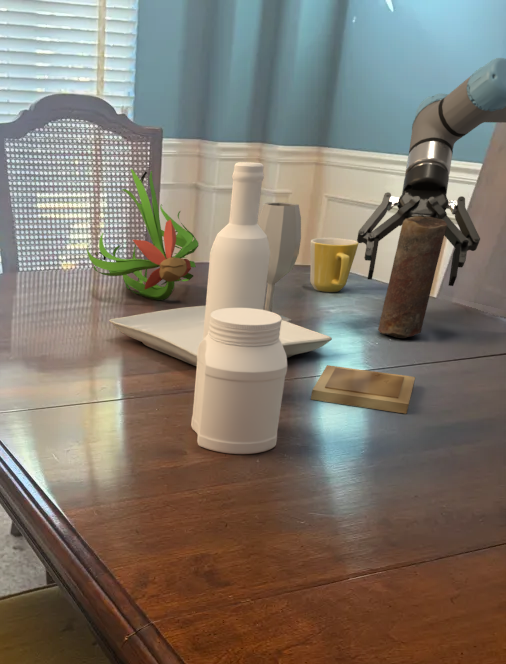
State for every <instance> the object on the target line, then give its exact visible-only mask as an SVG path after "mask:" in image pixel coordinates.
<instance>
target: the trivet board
mask: <svg viewBox="0 0 506 664" xmlns="http://www.w3.org/2000/svg"><path fill="white" fill-rule="evenodd" d="M415 381H416V377H415V376H411V375H404V374H403V375H402V374H396V373H390V372H389V373H388V372H381V371H372V370H367V369H358V368H351V367H343V366H337V365H329V364H327V365H326V366H325V367H324V369H323V371H322V373H321V374H320V375H319V377H318V379H317V381H316V382H315V385H314V386H313V387H312V390H311V395H310V400H312V401H317V402H318V401H319V402H324V403H329V404H331V403H332V404H336V405H337V404H338V405H343V406H352V407H359V408H365V409H371V410H379V411H385V412H391V413H398V414H403V415H404V414H405V415H406V414H407V413H408V409H409V406H410V401H411V397H412V393H413V389H414V384H415Z"/></svg>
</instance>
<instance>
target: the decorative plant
mask: <svg viewBox="0 0 506 664" xmlns="http://www.w3.org/2000/svg"><path fill="white" fill-rule="evenodd" d="M130 172H131V174H132V179H133V181H134V184H135V187H136V190H137V193H138V197H139V200H140V202H138V200H137V198H136V196H135V194H133V193H132V192H131V191H129V190H128V189H126V188H122V189H121V192H122V191H123V192H125V193H126V194H127V196H129V197H130V198H131V199H132V201H133V202H134V203H135V205H136V207H137V209H138V210H139V212H140V215H141V217H142V219H143V222H144V225H145V227H146V230H147V232H148V235H149V237H150V240H151V242H150V241H147V240H144V239H143V240H142V239H131V240H132V242H133V243H134V244H135V245H134V248H133V252H132V258H120V257H118V256H116V254H117V252H118V250H119V248H120V247H121V244H120V245H117V246H116V247H115V248H114V249H113V251H112V254H111V253H110V252H108V250H107V249H106V247H105V245H104V241H103V237H104V236H105V234H104V233H103V232H102V233H101V235H100V237H99V242H98V248H99V251H97V252H96V251H95V253H94V255H95V256H96V257H97V258H96V257H95V256H94V255H92V254H91V252H90V251H89V249H88V247H89V245H87V246H86V247H87V248H86V253H87V256H88V259H89V260H90V262H91V263H92V265H93V270H94V271H95V272H97V273H99V274H101V275H104V276H108V277H121V276H122V280H123V282H124V285H125V287H126V288H127V289H128V290H129V291H131V292H132V293H133V294H136V295H139V296H141V297H144V298H148V299H151V300H155V301H164V300H166V299H168V298H169V297H171V295H172V293H173V291H174V289H175V285H176V284H175V282H176V283H177V282H188V281H190V280H191V279H193V278H194V275H193V274H191V273H190V271H191V270H192V268H197V267H196V263H195V261H194V260H189V259H187V256H188V255H190V254H193V253H195V252H196V250H197V249H198V247H199V241H198V240H197V238H196V237H195V235H194V234H193V233H192V232H191V231H190V230H189V229H188V228H187V227H186V226H185V224H183V223H182V222H180V224H181V225H182V226H181V225H180V224H179V223H178V222H176V221H175V220H174V219H173V218H172V217H170V215H169V214H168V213H167V212H166V211H165V210H164V209H163V204H162V203H160V206H159V203H158V199H157V193H156V190H155V186H154V181H153V170H151V171H150V173H149V175H148V176H149V177H148V181H149V187H150V194H151V202H150V198H149V195H148V193H147V191H146V188H145V186H144V184H143V181H144V179H145V177H146V176H147V174H148V171H144V173H143V174H142V175H141V177H140V178H139V176H138V174H137V173H136V172H135V171H134V170H133V168H130ZM159 209H160V211H161V214H162V215H163V217H164V219H165V220H166V221H165V226H164V230H163V229H162V226H161V225H162V224H161V219H160V211H159ZM180 213H181V210H179V211H178V212H177V219H178V220H180ZM136 247H137V248H138V249H139V251H140V252H141V253H142V255H144V257H145V258H147V259H145V258H143V259H142V258H136ZM175 248H177V249H179V251H178V252H177V253H176V252H175ZM98 254H100V255H102V256H103V258H102V259H101V258H98V257H99V255H98ZM173 254H175V255H173ZM106 259H109V260H112V261H107V260H106ZM96 267H97V268H99V269H102V270H106V271H108V272H102V271H101V272H100V271H98V270H97V268H96ZM151 269H154V270H153V271H152V272H151V273H150V274H149V276H148V270H151ZM142 271H145V272H144V275H143V272H142ZM130 274H133V275H134V276H135V277H137V280H136V279H134V278H132V277H131V276H129V275H130ZM147 277H148V278H147ZM182 278H183V279H182ZM162 281H164V282H163V283H160V282H162ZM144 283H145V284H144ZM159 283H160V285H161V286H160V285H158V284H159ZM163 285H164V286H163ZM131 288H133V289H135V290H136V291H134V290H133V289H131ZM137 291H138V292H137Z"/></svg>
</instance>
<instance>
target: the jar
mask: <svg viewBox="0 0 506 664" xmlns="http://www.w3.org/2000/svg"><path fill="white" fill-rule="evenodd" d="M279 315H280V314H277V313H276V312H273V311H272V312H270V311H265V310H264V309H263V310H260V309H252V308H224V309H219V310H215V311H213V312H212V313H211V314H210V322H209V323H210V326H209V332H208V335H207V336H206V337H205V338H204V339H203V340H202V342H201V343H200V344H199V347H198V350H197V366H196V371H195V383H194V395H193V406H192V416H191V424H190V427H191V429H192V431H194V432H195V433H196V435H197V438H196V439H197V440H196V442H197V446H199V447H201V448H203V449H206V450H210V451H212V452H213V451H214V452H217V453H222V454H230V455H253V454H259V453H263V452H267V451H269V450H272V449H274V448H275V447H276V445H277V442H278V441H277V440H278V429H279V423H280V422H279V421H280V414H281V409H282V407H281V406H282V400H283V394H284V387H285V380H286V376H287V373H288V372H287V371H288V358H287V357H286V353H285V350H284V348H283V345H282V343H281V341H280V337H279V336H280V330H281V329H280V326H281V321H282V318H281V317H280V316H279Z"/></svg>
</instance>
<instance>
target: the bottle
mask: <svg viewBox="0 0 506 664" xmlns="http://www.w3.org/2000/svg"><path fill="white" fill-rule="evenodd" d="M264 168H265V165H264V164H263V163H262V162H253V161H251V162H250V161H238V162H236V163H235V164H234V166H233V172H232V174H231V179H232V187H231V198H230V208H229V219H228V223H227V224H226V225H224V227H223V228H222V229H221V230H220V231H219V232H217V233H216V236H215V238H214V241H213V243H212V245H211V249H210V250H209V251H210V252H209V262H208V263H209V264H208V273H207V274H208V276H207V287H206V299H205V306H206V309H205V321H204V333H203V339H204V338H205V337H206V336H207V335H208V332H209V326H210V323H209V322H210V314H211V313H212V312H213V311H215V310H219V309H224V308H252V309H260V310H264V308H265V300H266V292H267V284H268V283H267V274H268V266H269V258H270V249H269V243H268V239H267V235H266V234H265V233H264V232H263V230H262V229H261V228H260V226H259V225H258V224H257V222H258V217H259V214H260V212H259V211H260V204H261V203H260V202H261V195H262V186H263V181H264V179H265V173H264Z"/></svg>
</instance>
